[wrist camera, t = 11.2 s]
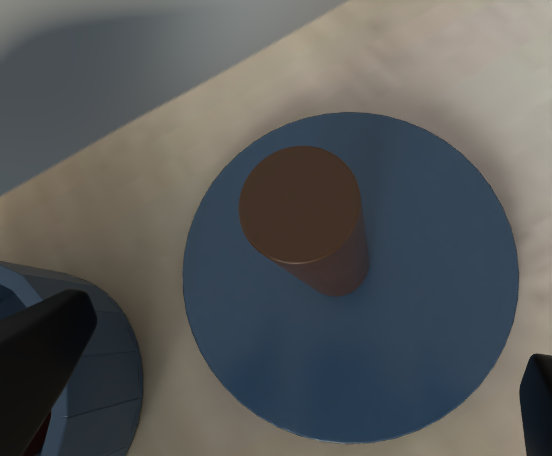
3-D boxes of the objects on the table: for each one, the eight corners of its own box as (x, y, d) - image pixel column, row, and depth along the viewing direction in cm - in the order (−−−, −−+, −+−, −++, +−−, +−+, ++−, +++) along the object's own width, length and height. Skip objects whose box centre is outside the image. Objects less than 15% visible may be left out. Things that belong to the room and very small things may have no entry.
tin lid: (592, 283, 16) (877, 218, 7) (320, 513, 16) (246, 745, 7) (351, 71, 21) (328, -138, 11) (142, 253, 21) (-43, 192, 12)
